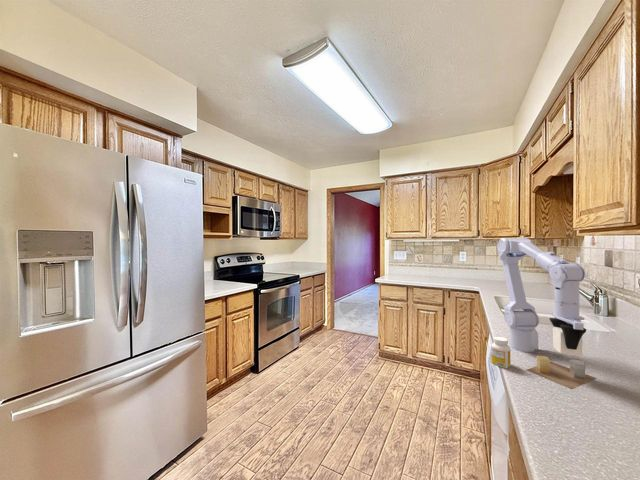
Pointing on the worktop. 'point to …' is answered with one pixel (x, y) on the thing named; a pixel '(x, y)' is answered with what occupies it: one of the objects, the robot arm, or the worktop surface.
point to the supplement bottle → (500, 352)
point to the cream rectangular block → (560, 343)
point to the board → (562, 376)
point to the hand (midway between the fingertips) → (566, 345)
